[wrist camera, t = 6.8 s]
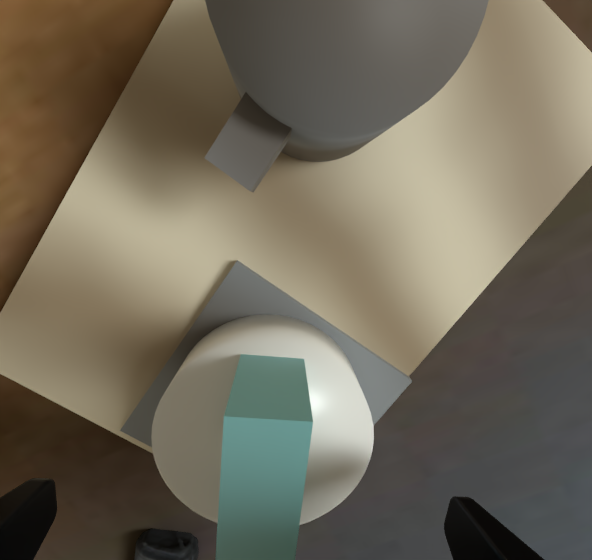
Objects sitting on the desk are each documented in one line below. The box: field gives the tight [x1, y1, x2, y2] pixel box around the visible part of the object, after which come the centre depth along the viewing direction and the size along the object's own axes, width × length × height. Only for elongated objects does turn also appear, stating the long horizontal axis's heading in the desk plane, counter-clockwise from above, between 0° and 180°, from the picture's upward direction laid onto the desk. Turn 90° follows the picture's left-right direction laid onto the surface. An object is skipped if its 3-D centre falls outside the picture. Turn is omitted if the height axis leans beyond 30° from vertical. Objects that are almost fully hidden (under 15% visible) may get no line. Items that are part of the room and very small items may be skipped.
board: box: [0, 0, 592, 453], centre depth 8 cm, size 18×12×5 cm, turn 144°
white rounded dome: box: [151, 314, 374, 560], centre depth 8 cm, size 6×6×4 cm
